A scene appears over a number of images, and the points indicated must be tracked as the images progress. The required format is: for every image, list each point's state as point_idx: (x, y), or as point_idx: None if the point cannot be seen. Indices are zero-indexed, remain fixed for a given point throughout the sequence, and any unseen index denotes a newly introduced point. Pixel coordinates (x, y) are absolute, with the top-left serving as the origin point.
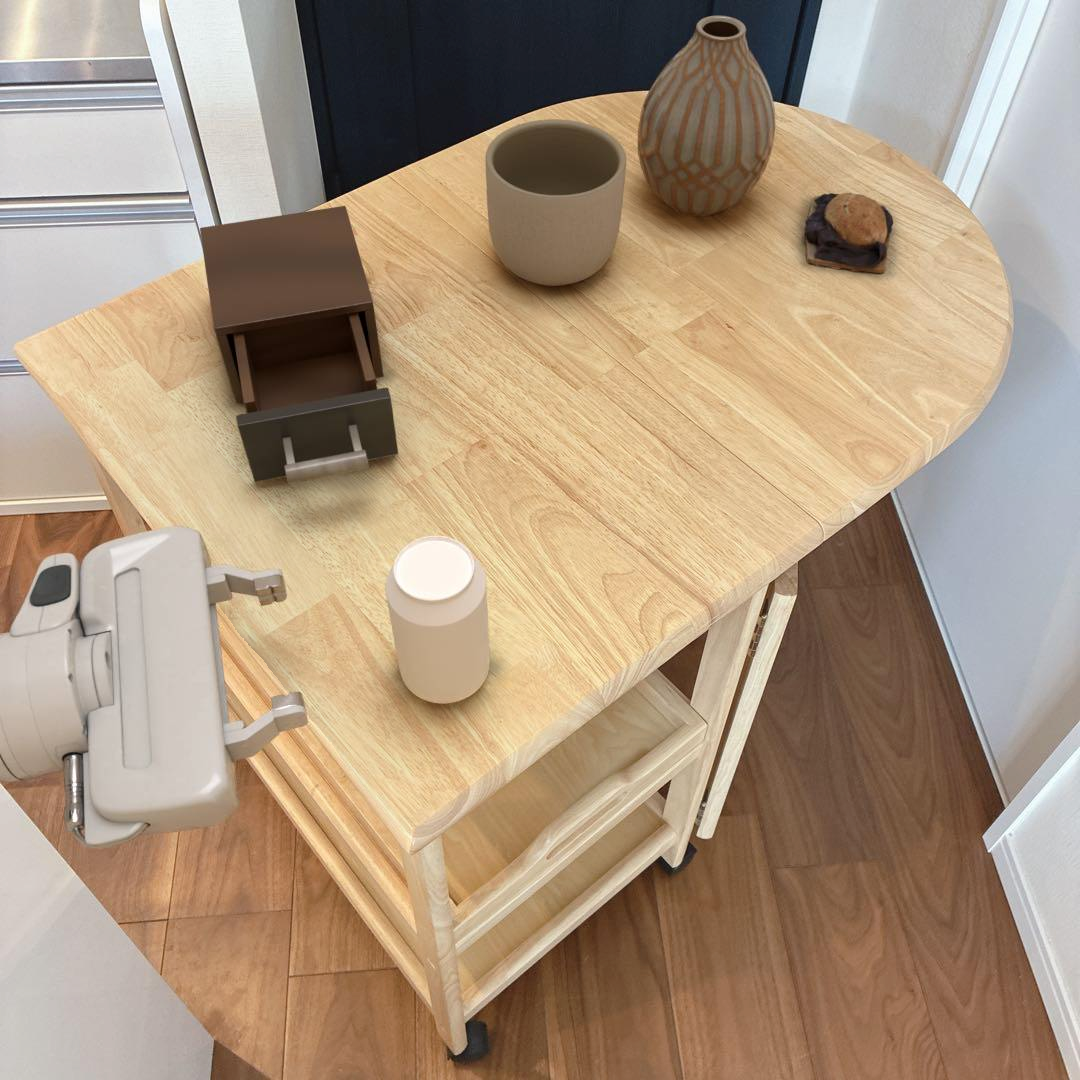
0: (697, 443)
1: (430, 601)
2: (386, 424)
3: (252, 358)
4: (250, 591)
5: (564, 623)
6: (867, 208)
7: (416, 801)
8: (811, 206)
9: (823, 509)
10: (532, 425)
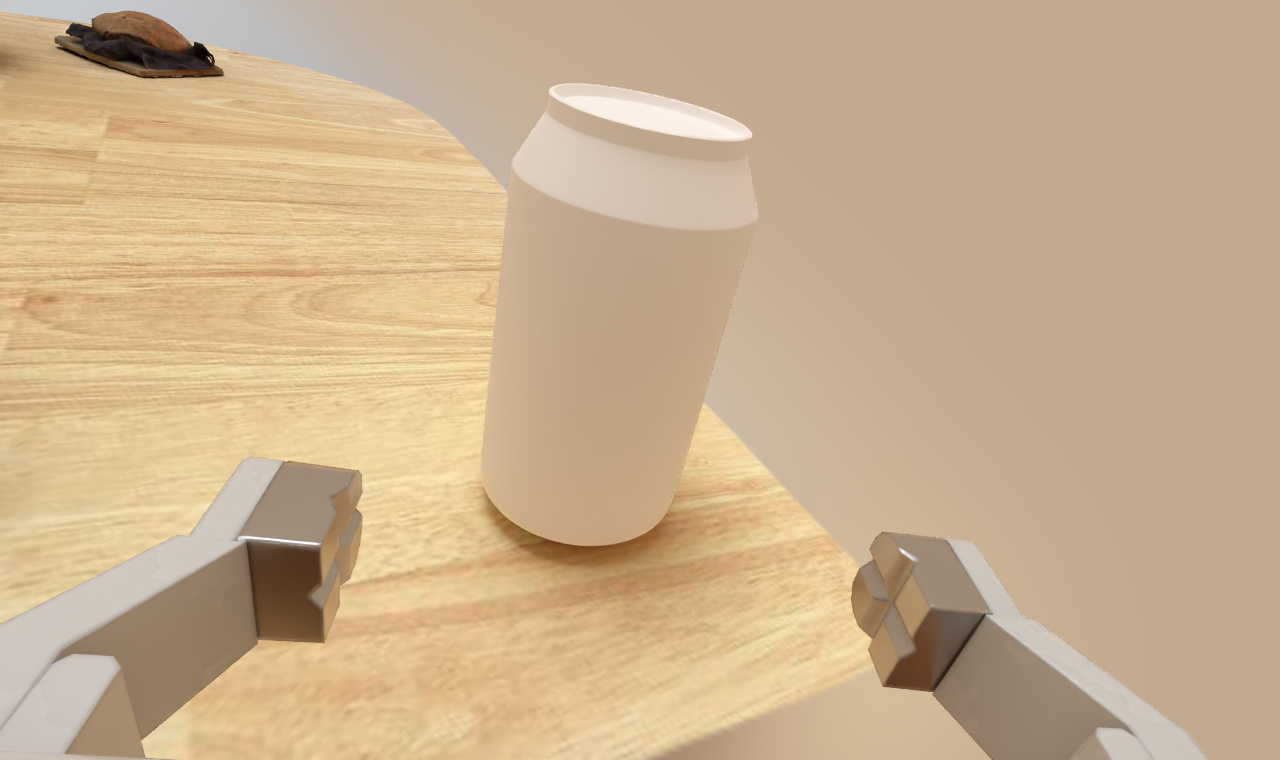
0: (322, 191)
1: (750, 141)
2: None
3: None
4: (220, 646)
5: None
6: (151, 16)
7: None
8: (66, 42)
9: (493, 187)
10: (88, 250)
